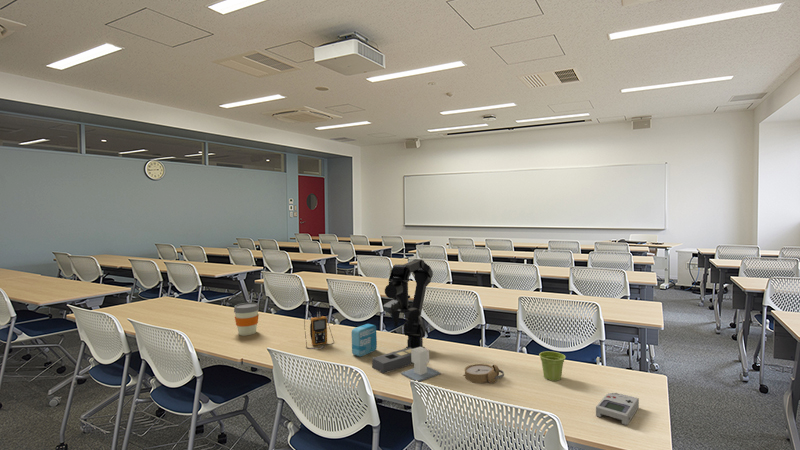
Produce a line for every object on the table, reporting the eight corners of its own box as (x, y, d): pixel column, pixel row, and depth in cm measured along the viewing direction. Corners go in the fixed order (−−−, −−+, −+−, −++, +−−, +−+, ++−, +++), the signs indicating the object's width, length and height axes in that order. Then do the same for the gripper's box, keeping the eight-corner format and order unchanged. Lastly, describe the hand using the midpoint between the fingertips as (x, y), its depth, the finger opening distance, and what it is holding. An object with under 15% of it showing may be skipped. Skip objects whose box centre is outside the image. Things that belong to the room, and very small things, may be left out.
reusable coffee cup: (264, 331, 226) (263, 304, 225) (245, 337, 216) (243, 309, 215) (249, 328, 233) (248, 301, 232) (229, 334, 222) (228, 306, 222)
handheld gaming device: (639, 409, 134) (639, 397, 134) (627, 427, 123) (627, 415, 123) (609, 401, 140) (609, 390, 140) (595, 418, 129) (595, 406, 129)
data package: (359, 357, 184) (358, 330, 184) (351, 355, 187) (351, 329, 186) (377, 349, 194) (376, 324, 193) (369, 348, 196) (369, 322, 196)
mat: (424, 366, 172) (424, 365, 172) (440, 373, 164) (440, 372, 164) (401, 374, 165) (401, 372, 165) (417, 382, 157) (417, 380, 157)
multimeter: (309, 352, 192) (308, 309, 192) (304, 345, 201) (302, 304, 200) (339, 346, 199) (338, 305, 198) (333, 340, 208) (332, 301, 207)
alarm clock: (467, 363, 168) (504, 361, 162) (469, 375, 168) (507, 373, 162) (460, 373, 157) (500, 372, 152) (462, 386, 157) (502, 385, 152)
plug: (421, 369, 168) (420, 346, 168) (429, 372, 164) (429, 349, 164) (411, 372, 165) (411, 349, 165) (419, 376, 161) (419, 352, 161)
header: (410, 356, 185) (409, 346, 184) (421, 361, 178) (421, 351, 178) (372, 367, 172) (372, 357, 172) (383, 373, 166) (383, 363, 166)
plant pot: (536, 373, 163) (536, 351, 163) (560, 372, 163) (560, 351, 163) (543, 383, 154) (543, 360, 154) (569, 383, 154) (569, 359, 153)
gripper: (374, 292, 183) (375, 327, 184) (399, 299, 168) (400, 338, 169) (394, 289, 190) (395, 323, 191) (420, 295, 175) (421, 332, 176)
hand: (402, 328), depth 181 cm, fingers open, 9 cm apart
